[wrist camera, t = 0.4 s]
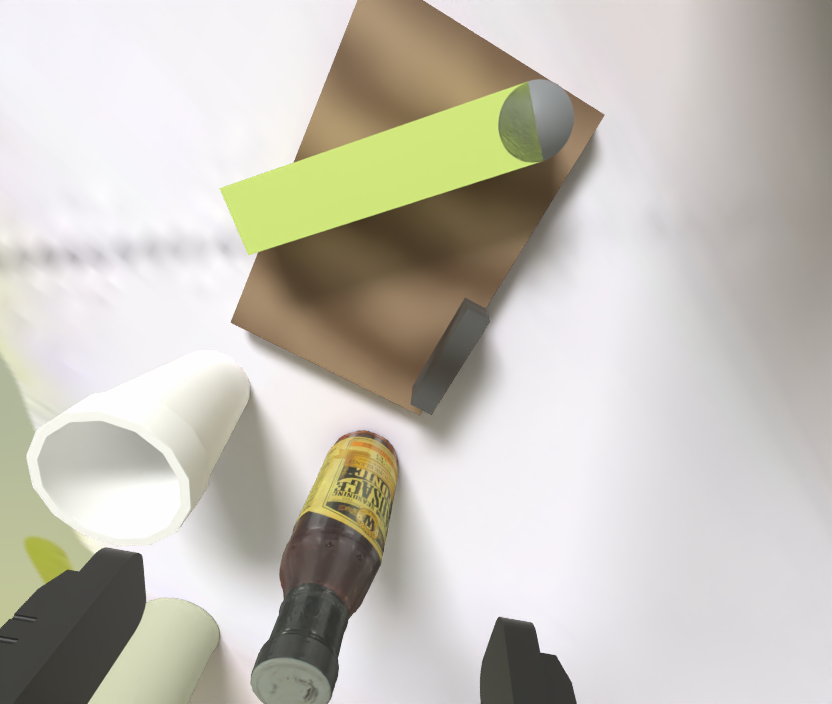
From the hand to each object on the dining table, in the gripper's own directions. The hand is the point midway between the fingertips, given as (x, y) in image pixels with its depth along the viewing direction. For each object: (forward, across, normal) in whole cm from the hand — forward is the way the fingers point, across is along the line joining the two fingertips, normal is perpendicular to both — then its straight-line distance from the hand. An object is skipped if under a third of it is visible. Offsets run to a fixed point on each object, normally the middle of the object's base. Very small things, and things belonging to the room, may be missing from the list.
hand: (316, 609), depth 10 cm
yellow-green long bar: (+24, +2, -9) cm, 26 cm away
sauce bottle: (+26, +1, +15) cm, 30 cm away
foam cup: (+26, +15, +11) cm, 32 cm away
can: (+26, +18, +41) cm, 52 cm away
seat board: (+27, +1, -5) cm, 27 cm away
